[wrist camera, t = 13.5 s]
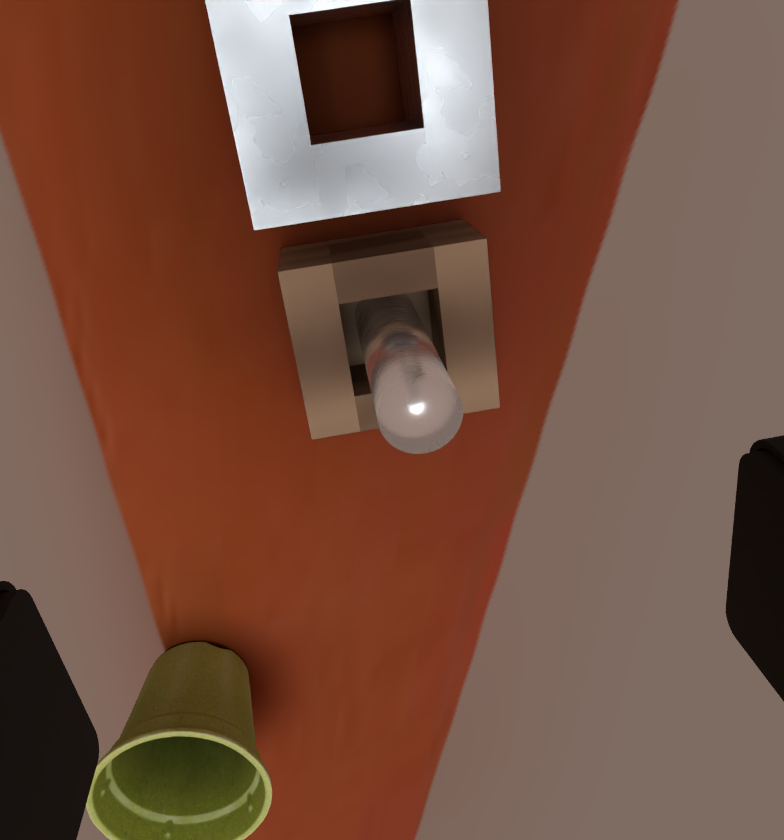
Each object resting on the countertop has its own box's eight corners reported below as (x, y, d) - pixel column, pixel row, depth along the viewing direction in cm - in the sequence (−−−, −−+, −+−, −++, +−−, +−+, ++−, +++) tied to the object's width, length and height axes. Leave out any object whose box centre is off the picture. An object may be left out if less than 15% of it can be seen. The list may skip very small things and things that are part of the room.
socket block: (211, -40, 30) (190, -67, 25) (448, -73, 31) (480, -107, 25) (261, 207, 34) (254, 230, 29) (469, 175, 35) (500, 191, 29)
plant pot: (239, 597, 43) (225, 709, 36) (299, 704, 47) (298, 826, 40) (94, 647, 44) (49, 770, 36) (166, 750, 48) (139, 880, 40)
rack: (280, 248, 35) (277, 271, 31) (463, 219, 36) (486, 238, 31) (310, 398, 39) (311, 439, 34) (477, 370, 39) (500, 407, 35)
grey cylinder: (350, 292, 35) (371, 383, 25) (411, 282, 36) (458, 368, 25) (360, 349, 37) (384, 460, 26) (418, 340, 37) (466, 446, 26)
